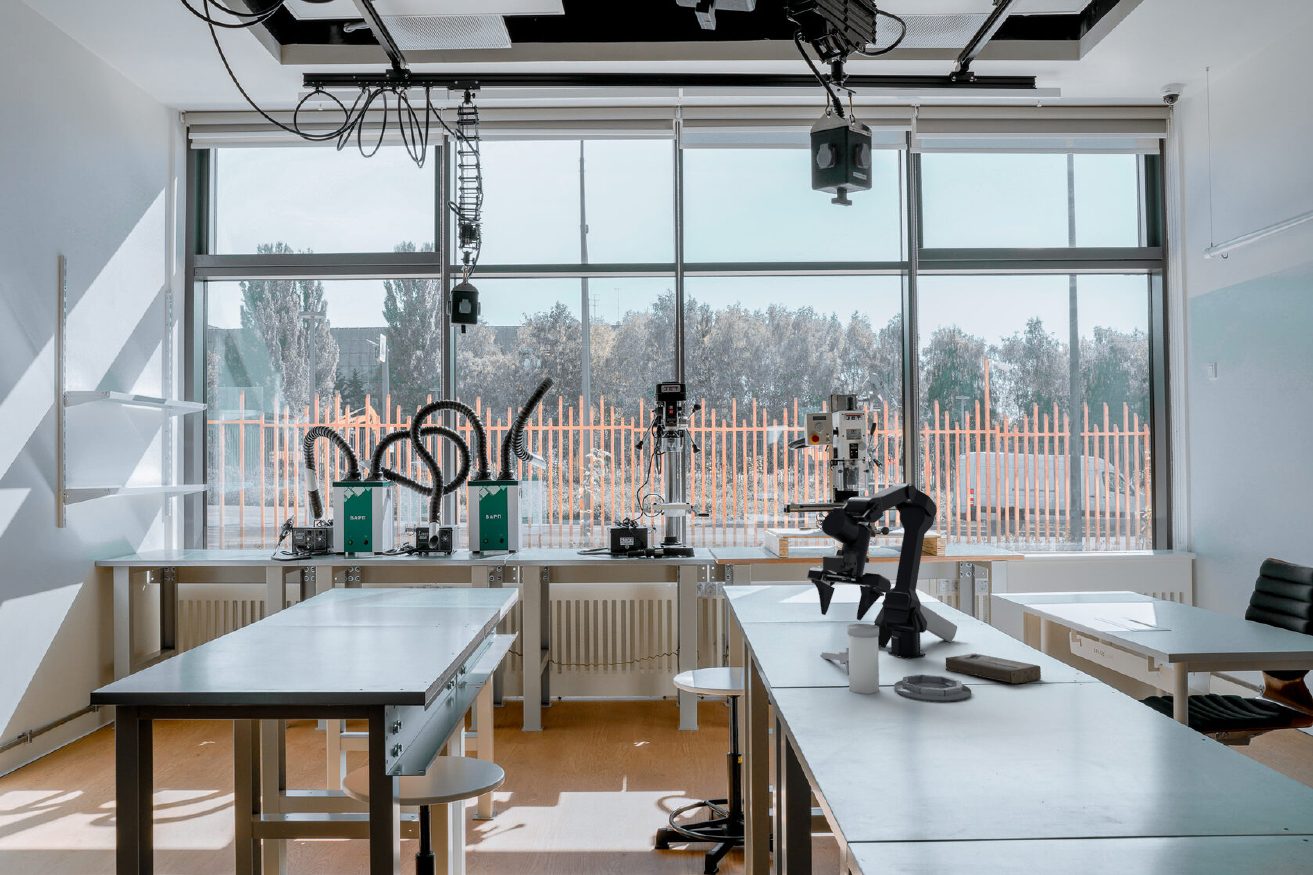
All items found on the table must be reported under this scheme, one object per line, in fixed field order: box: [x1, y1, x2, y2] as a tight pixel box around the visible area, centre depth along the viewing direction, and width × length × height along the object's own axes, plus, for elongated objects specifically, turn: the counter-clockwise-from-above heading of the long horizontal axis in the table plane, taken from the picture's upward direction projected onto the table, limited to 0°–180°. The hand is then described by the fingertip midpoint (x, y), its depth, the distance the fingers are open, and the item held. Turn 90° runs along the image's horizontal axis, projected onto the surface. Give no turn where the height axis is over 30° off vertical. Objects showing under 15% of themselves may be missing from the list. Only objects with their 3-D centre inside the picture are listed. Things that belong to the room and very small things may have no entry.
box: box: [945, 653, 1042, 685], centre depth 184 cm, size 11×17×3 cm, turn 31°
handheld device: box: [873, 587, 958, 649], centre depth 216 cm, size 4×22×15 cm, turn 107°
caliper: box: [820, 647, 849, 676], centre depth 193 cm, size 20×1×6 cm, turn 8°
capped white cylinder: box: [847, 623, 880, 695], centre depth 172 cm, size 6×6×13 cm
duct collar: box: [893, 674, 972, 703], centre depth 170 cm, size 15×15×2 cm
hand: (840, 617), depth 184 cm, fingers open, 9 cm apart
